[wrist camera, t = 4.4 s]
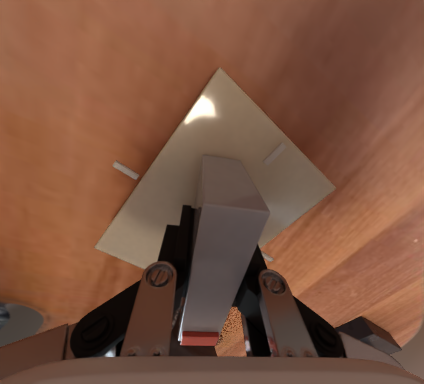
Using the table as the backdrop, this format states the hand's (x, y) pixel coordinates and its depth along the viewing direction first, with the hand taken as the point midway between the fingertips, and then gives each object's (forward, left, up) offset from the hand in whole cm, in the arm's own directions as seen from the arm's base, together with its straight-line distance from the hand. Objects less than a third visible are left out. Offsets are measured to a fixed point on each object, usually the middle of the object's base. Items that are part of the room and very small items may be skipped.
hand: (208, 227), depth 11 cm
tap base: (0, 0, -4) cm, 4 cm away
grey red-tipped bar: (0, 0, -1) cm, 1 cm away
